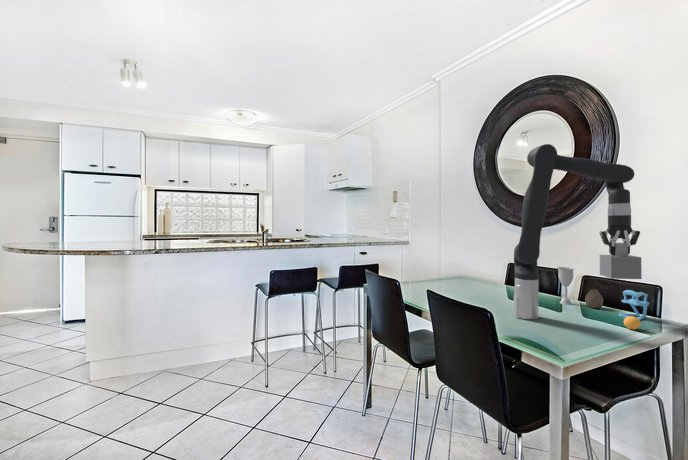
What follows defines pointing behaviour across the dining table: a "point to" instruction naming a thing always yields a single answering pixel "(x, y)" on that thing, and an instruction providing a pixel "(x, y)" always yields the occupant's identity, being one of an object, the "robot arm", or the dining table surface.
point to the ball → (632, 322)
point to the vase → (594, 299)
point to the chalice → (565, 281)
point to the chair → (635, 303)
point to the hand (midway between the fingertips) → (619, 254)
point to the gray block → (620, 264)
